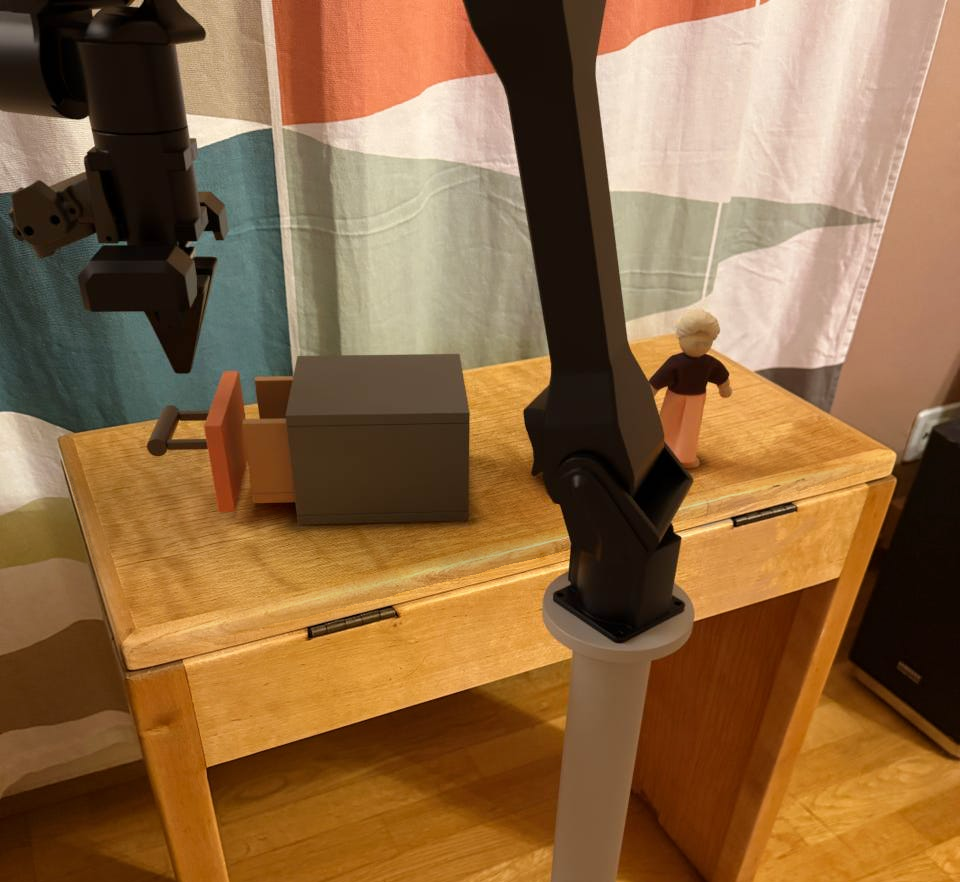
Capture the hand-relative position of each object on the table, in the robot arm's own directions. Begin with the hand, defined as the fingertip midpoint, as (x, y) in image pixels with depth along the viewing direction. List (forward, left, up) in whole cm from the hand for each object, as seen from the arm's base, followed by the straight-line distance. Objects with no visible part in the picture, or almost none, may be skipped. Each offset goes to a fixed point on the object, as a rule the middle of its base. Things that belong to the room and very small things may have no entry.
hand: (183, 371), depth 68 cm
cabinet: (-8, -12, -10) cm, 17 cm away
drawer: (-3, -4, -9) cm, 10 cm away
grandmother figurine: (-19, -34, -10) cm, 40 cm away
